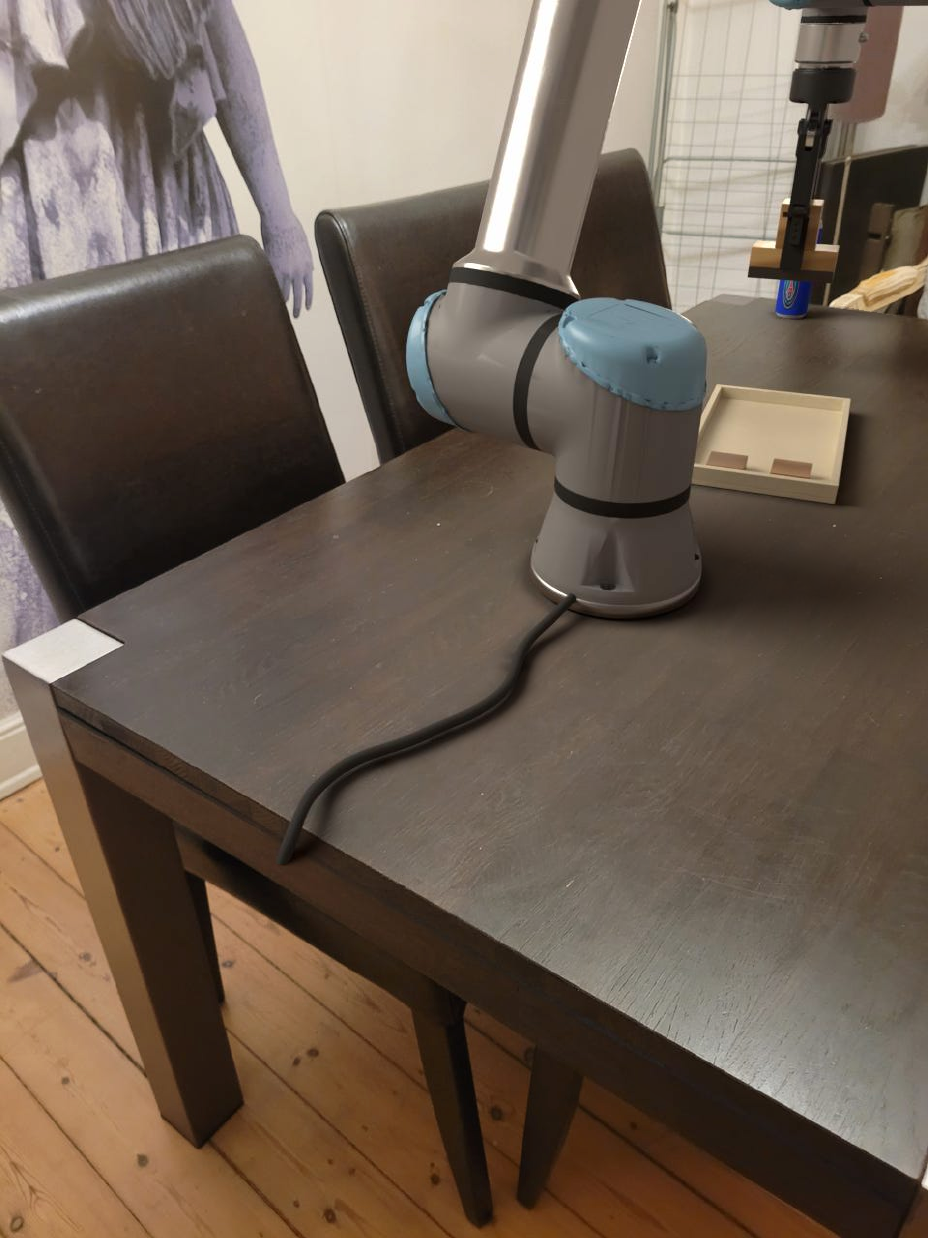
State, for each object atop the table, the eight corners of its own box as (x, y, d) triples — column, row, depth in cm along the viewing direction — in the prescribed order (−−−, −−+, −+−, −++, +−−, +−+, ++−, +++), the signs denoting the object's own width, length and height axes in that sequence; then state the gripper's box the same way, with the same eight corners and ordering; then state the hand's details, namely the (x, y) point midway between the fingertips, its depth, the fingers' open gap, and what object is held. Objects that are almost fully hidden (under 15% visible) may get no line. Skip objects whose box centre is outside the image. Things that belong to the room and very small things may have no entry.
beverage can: (767, 313, 157) (783, 218, 149) (791, 309, 159) (808, 215, 151) (788, 320, 153) (805, 223, 145) (813, 316, 155) (830, 220, 147)
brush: (831, 283, 123) (846, 206, 118) (747, 277, 127) (758, 202, 122) (833, 275, 127) (848, 200, 122) (751, 270, 130) (762, 197, 125)
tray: (834, 504, 96) (838, 485, 95) (674, 481, 101) (676, 463, 100) (847, 414, 117) (851, 398, 116) (714, 399, 122) (716, 383, 121)
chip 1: (741, 482, 99) (743, 469, 98) (703, 477, 101) (705, 464, 100) (746, 468, 102) (748, 455, 102) (709, 463, 104) (711, 450, 103)
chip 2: (807, 490, 97) (809, 477, 96) (767, 485, 99) (770, 472, 98) (810, 475, 100) (812, 463, 100) (772, 470, 102) (774, 458, 101)
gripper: (854, 69, 105) (815, 281, 118) (861, 62, 119) (825, 253, 132) (786, 69, 108) (755, 277, 120) (800, 62, 121) (770, 249, 134)
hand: (791, 264), depth 126 cm, fingers closed on brush, 4 cm apart
